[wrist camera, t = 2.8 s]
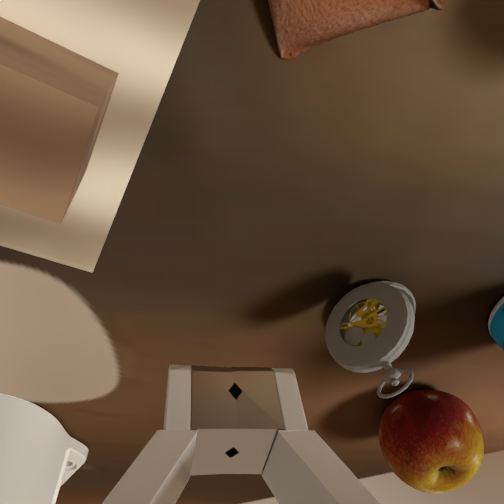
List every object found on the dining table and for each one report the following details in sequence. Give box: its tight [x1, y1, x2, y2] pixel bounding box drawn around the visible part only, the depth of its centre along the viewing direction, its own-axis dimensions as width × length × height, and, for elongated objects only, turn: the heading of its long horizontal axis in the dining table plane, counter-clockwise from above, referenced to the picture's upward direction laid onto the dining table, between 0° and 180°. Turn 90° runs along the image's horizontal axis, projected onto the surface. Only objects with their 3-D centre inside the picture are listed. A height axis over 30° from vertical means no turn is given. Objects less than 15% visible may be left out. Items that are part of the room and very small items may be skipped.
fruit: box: [379, 390, 484, 493], centre depth 40 cm, size 10×9×8 cm
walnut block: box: [0, 17, 119, 224], centre depth 16 cm, size 5×5×5 cm
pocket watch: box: [325, 281, 416, 398], centre depth 29 cm, size 8×8×10 cm
